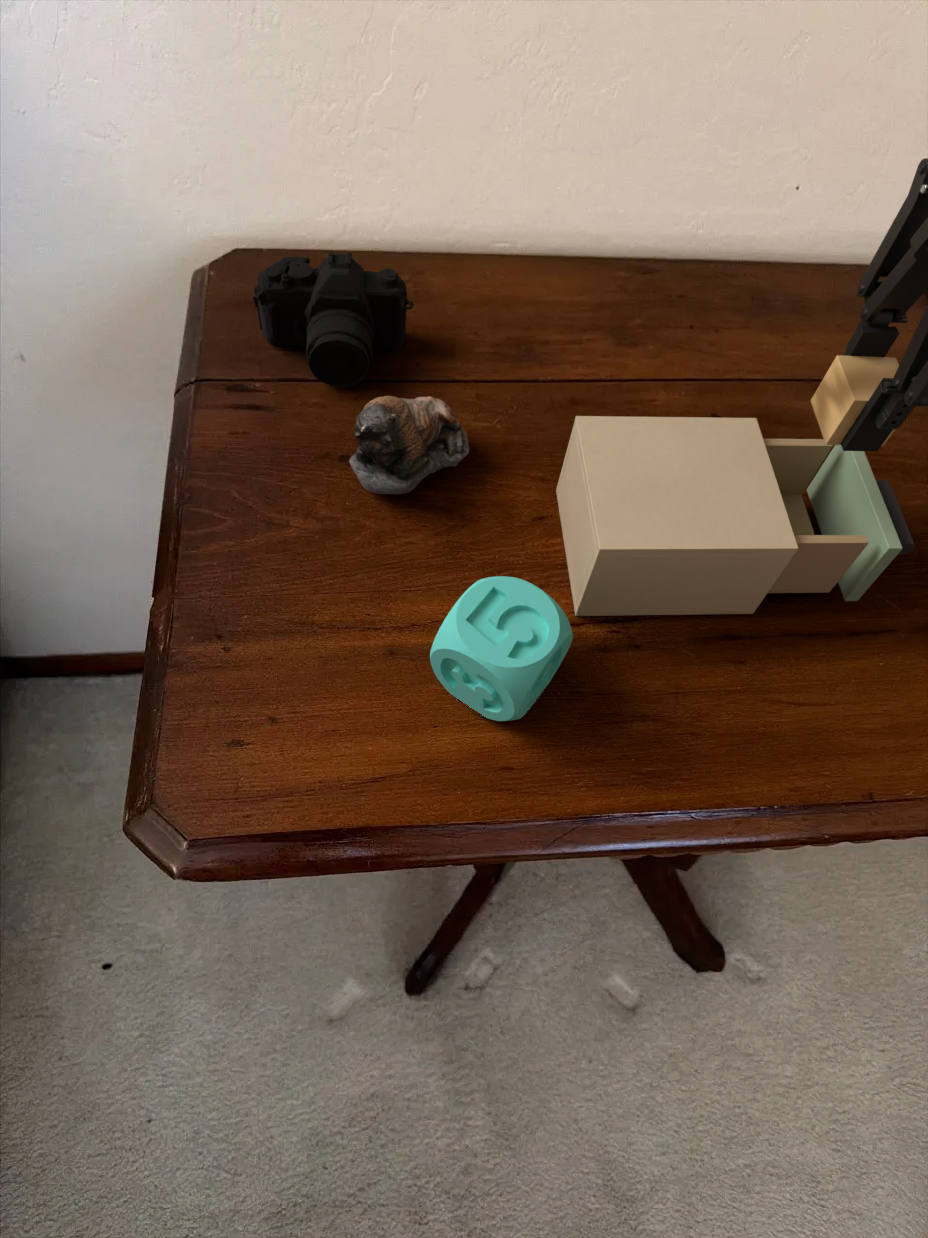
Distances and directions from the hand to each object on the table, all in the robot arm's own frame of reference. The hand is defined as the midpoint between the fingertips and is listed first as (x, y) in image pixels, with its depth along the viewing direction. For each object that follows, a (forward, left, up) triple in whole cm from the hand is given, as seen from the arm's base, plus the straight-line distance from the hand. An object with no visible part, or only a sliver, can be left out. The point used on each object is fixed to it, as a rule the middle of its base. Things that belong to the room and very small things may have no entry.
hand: (849, 420), depth 67 cm
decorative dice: (+27, +13, -15) cm, 33 cm away
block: (0, 0, 0) cm, 0 cm away
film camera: (+40, -23, -15) cm, 48 cm away
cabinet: (+12, +1, -15) cm, 19 cm away
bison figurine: (+33, -8, -15) cm, 37 cm away
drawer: (0, +1, -14) cm, 14 cm away
